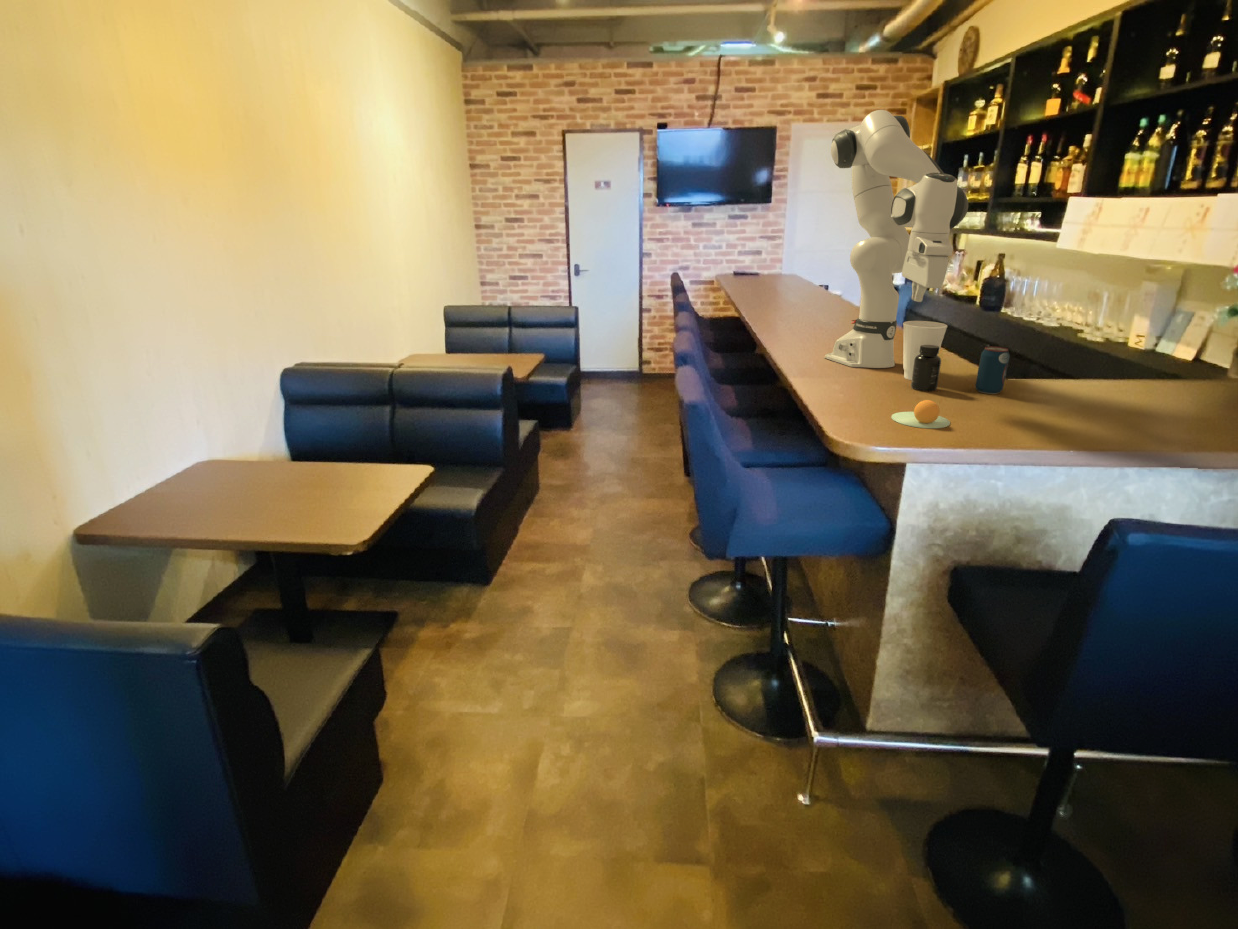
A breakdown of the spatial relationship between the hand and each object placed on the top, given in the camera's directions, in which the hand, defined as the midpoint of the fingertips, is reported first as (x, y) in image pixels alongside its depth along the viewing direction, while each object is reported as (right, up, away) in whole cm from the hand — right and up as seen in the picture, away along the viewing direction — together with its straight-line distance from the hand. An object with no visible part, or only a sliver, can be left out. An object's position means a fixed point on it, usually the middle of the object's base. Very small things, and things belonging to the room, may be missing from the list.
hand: (916, 300), depth 177 cm
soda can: (+26, -22, +15) cm, 37 cm away
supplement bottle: (+9, -21, +17) cm, 29 cm away
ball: (-4, -29, -14) cm, 33 cm away
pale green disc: (-4, -31, -11) cm, 33 cm away
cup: (+12, -16, +29) cm, 35 cm away
